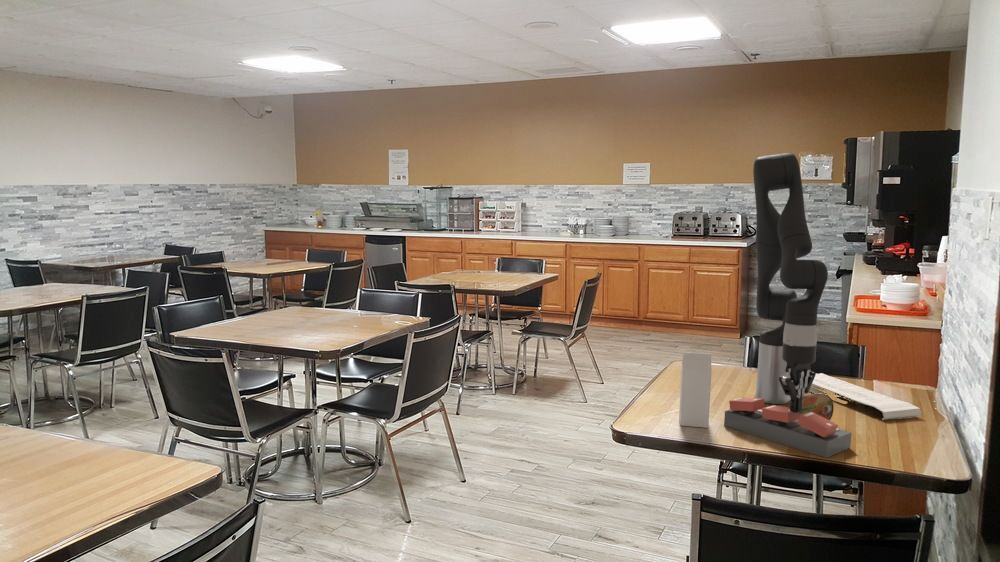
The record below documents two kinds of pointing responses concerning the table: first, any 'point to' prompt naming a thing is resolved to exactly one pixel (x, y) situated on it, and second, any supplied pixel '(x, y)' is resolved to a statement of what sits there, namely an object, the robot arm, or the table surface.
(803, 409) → the tin
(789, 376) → the robot arm
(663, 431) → the table surface
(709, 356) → the milk carton
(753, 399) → the block
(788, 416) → the block
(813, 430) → the rocker
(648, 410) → the table surface
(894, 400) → the white flat bar
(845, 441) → the power strip
